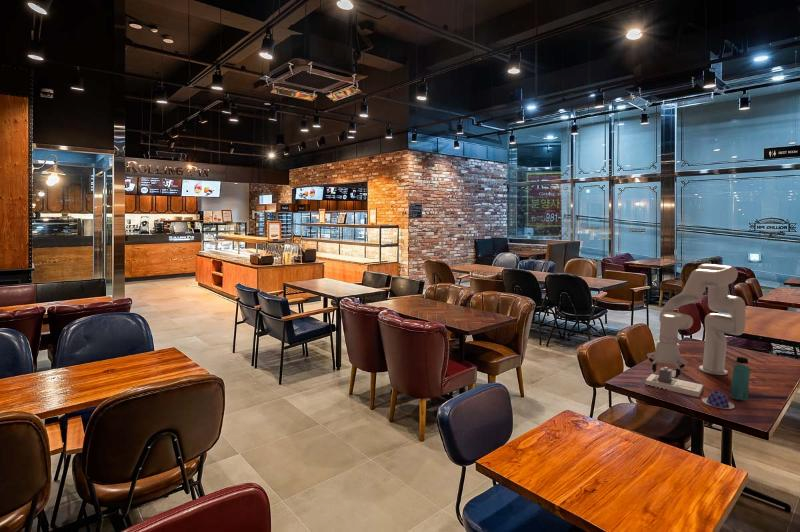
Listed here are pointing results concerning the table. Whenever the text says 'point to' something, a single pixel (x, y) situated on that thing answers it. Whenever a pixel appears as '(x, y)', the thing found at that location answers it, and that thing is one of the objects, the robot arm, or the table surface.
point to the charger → (665, 374)
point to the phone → (673, 374)
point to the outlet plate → (676, 385)
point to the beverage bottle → (740, 379)
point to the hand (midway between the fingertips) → (665, 373)
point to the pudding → (718, 400)
